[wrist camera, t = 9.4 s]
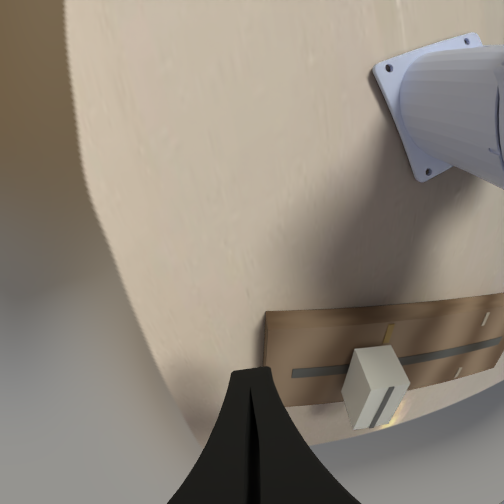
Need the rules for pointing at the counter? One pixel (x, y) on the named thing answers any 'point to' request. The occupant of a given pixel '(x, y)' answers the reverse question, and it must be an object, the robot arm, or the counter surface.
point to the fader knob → (373, 386)
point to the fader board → (381, 343)
